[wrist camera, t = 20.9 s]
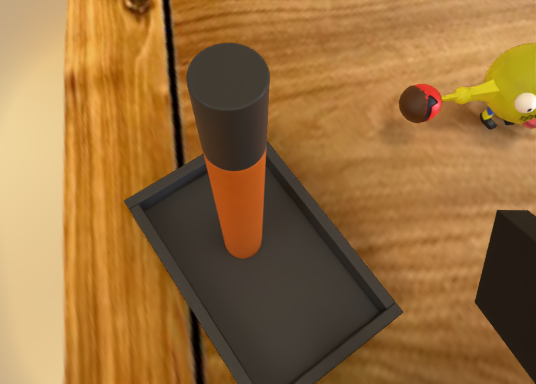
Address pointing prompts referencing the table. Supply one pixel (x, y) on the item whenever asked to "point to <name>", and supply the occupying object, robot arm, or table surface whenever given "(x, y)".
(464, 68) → the table surface
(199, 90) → the marker
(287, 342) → the pen tray
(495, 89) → the toy figure
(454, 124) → the table surface
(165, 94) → the table surface
